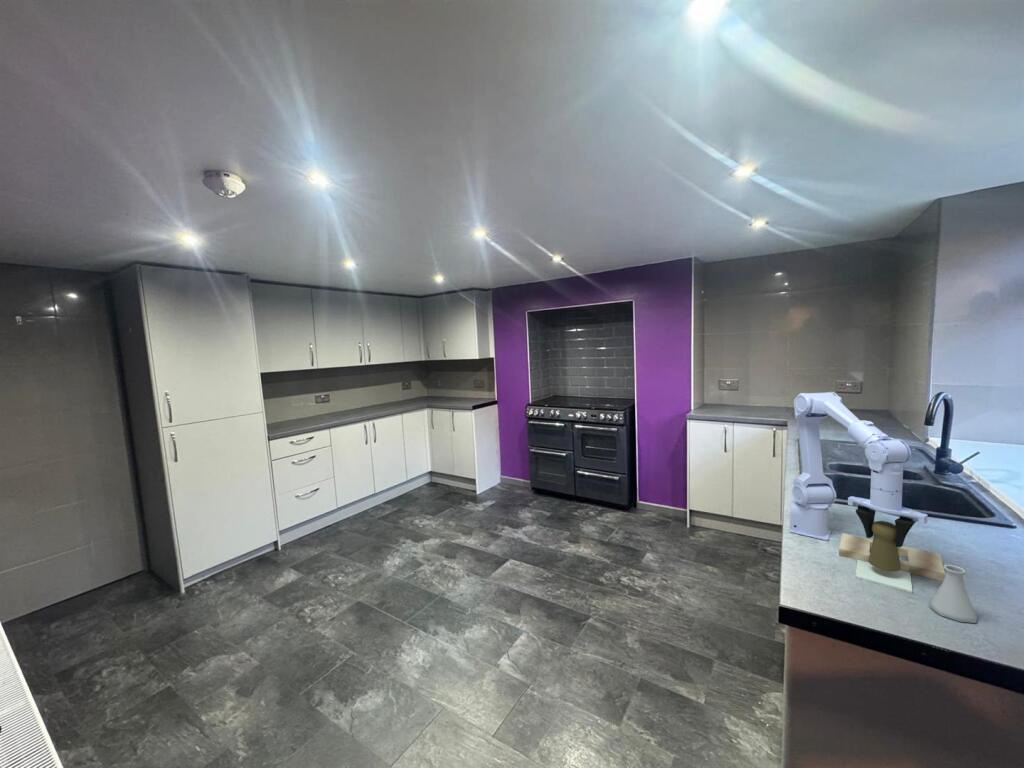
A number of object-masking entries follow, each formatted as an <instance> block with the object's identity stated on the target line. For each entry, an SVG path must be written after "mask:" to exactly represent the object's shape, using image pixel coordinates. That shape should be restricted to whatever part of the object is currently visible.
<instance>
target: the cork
mask: <svg viewBox="0 0 1024 768" xmlns="http://www.w3.org/2000/svg"><path fill="white" fill-rule="evenodd" d="M872 532H873V533H874V535H873V537H872V540H873V542H872V547H871V549H870V556H869V563H870V564H871V565H872V566H874V567H876V568H879V569H881V570H885V571H891V572H896V571H900V570H901V565H900V560H901V559H900V555H899V552H898V547H896V525H895V524H894V523H892V522H888V521H885V520H877V521H874V523H873V524H872Z"/></svg>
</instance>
